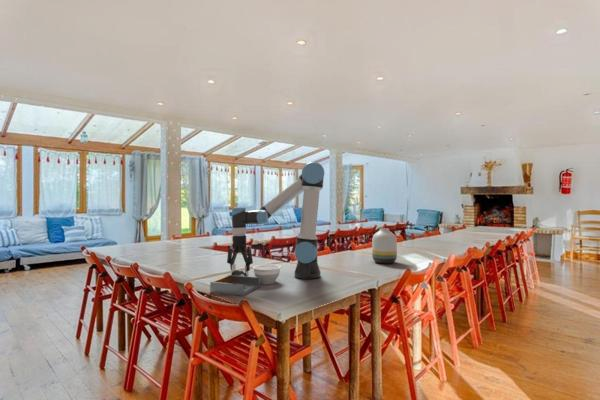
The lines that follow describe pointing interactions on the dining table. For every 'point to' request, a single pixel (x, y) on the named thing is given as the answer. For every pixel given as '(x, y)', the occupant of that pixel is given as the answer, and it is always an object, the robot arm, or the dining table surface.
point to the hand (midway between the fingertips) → (240, 276)
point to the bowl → (267, 272)
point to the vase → (384, 246)
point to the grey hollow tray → (235, 285)
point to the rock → (239, 273)
